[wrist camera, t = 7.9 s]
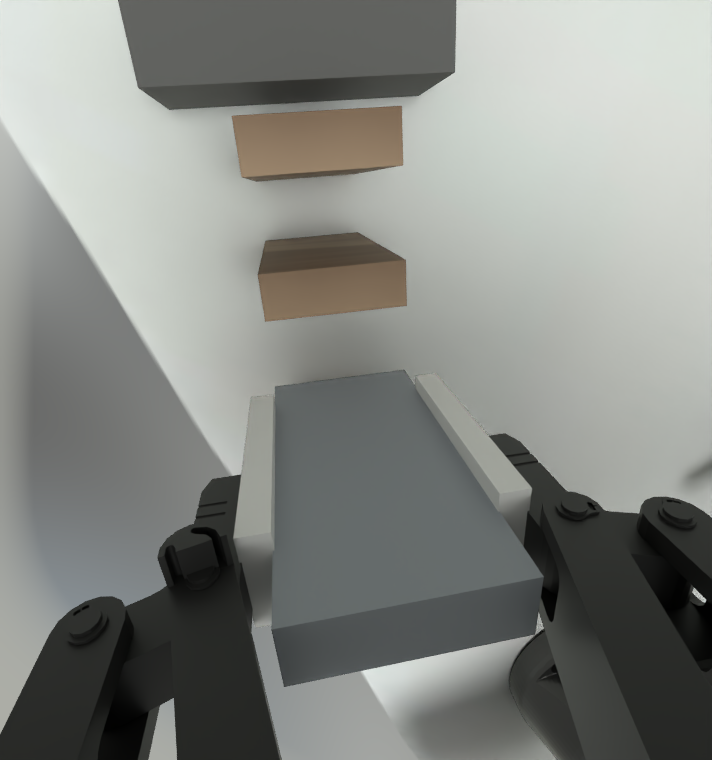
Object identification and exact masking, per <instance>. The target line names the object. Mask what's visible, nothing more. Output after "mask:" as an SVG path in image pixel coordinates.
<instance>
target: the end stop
mask: <svg viewBox="0 0 712 760" xmlns="http://www.w3.org/2000/svg"><path fill="white" fill-rule="evenodd" d="M118 2H119V7H120V11H121V15H122V20H123V24H124V28H125V32H126V37H127V41H128V45H129V50H130V54H131V58H132V63H133V67H134V71H135V76H136V80H137V84H138V88H139V89H141V90H142V91H144V92H145V93H147V94H148V95H149V96H151V97H152V98H154V99H155V100H156V101H158V102H159V103H161V104H162V105H164V106H165V107H166V108H168V109H169V110H171V109H189V108H207V107H225V106H243V105H261V104H279V103H297V102H315V101H333V100H351V99H369V98H387V97H406V96H419V95H421V94H422V93H424V92H425V91H427V90H428V89H430V88H431V87H433V86H434V85H436V84H437V83H439V82H440V81H442V80H443V79H445V78H447V77H448V76H450V75H451V74H453V73H454V72H455V41H456V0H118Z"/></svg>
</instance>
